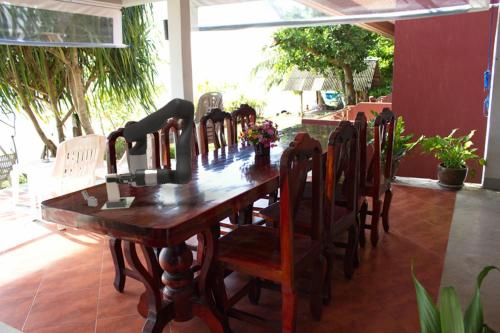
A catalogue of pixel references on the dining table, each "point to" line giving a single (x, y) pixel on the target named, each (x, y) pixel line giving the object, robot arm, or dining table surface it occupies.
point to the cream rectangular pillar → (112, 188)
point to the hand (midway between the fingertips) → (107, 179)
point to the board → (119, 203)
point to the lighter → (89, 199)
